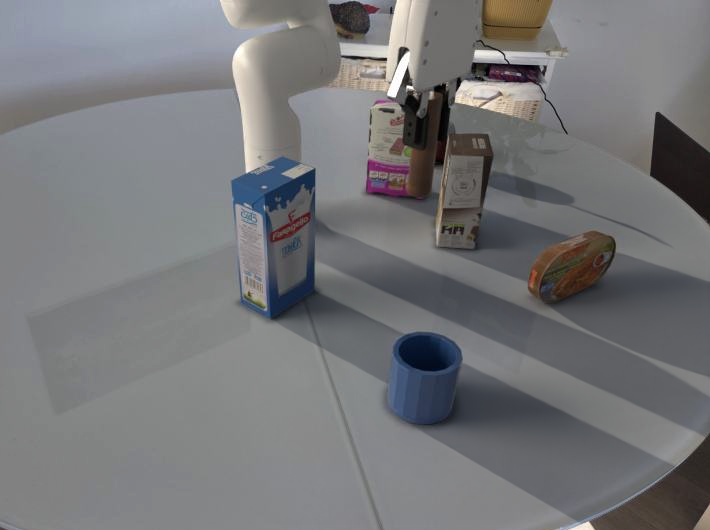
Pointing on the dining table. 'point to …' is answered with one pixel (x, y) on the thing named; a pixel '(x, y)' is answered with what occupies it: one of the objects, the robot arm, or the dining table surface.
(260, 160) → the robot arm
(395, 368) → the cup
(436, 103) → the dowel
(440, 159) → the mate gourd
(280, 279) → the milk carton
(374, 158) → the candy bar box
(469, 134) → the coffee box
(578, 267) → the tin
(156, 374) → the dining table surface
